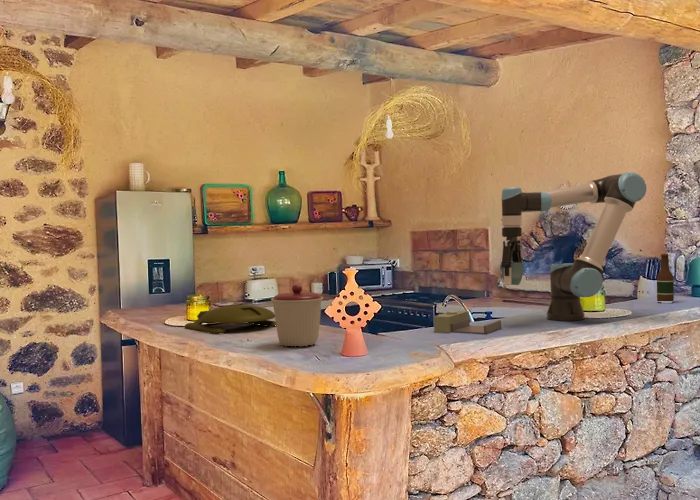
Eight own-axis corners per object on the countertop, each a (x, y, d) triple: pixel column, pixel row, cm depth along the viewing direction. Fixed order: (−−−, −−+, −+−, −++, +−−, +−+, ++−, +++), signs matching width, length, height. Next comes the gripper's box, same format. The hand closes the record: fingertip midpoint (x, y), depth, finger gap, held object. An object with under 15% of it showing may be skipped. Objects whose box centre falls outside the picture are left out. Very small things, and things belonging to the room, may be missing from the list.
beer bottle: (671, 301, 346) (670, 253, 345) (676, 303, 338) (675, 254, 338) (654, 302, 347) (654, 253, 347) (659, 303, 340) (658, 254, 339)
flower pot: (524, 285, 270) (523, 262, 270) (500, 285, 272) (500, 262, 272) (523, 283, 279) (523, 261, 279) (500, 284, 281) (500, 261, 281)
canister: (293, 339, 256) (292, 282, 256) (334, 343, 246) (333, 283, 246) (261, 347, 241) (259, 286, 240) (303, 351, 231) (301, 287, 230)
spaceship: (182, 329, 296) (181, 305, 295) (245, 321, 315) (244, 299, 315) (224, 337, 269) (223, 312, 269) (290, 328, 289) (289, 305, 288)
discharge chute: (501, 328, 271) (501, 320, 270) (486, 334, 257) (486, 325, 257) (467, 326, 278) (467, 318, 278) (451, 332, 264) (450, 323, 264)
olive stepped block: (469, 326, 280) (468, 308, 279) (448, 333, 263) (448, 314, 262) (455, 325, 283) (454, 308, 283) (434, 332, 266) (433, 313, 265)
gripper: (511, 226, 286) (512, 281, 287) (492, 227, 267) (493, 285, 268) (530, 226, 282) (530, 281, 283) (511, 226, 263) (512, 285, 264)
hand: (512, 283), depth 276 cm, fingers closed on flower pot, 10 cm apart
